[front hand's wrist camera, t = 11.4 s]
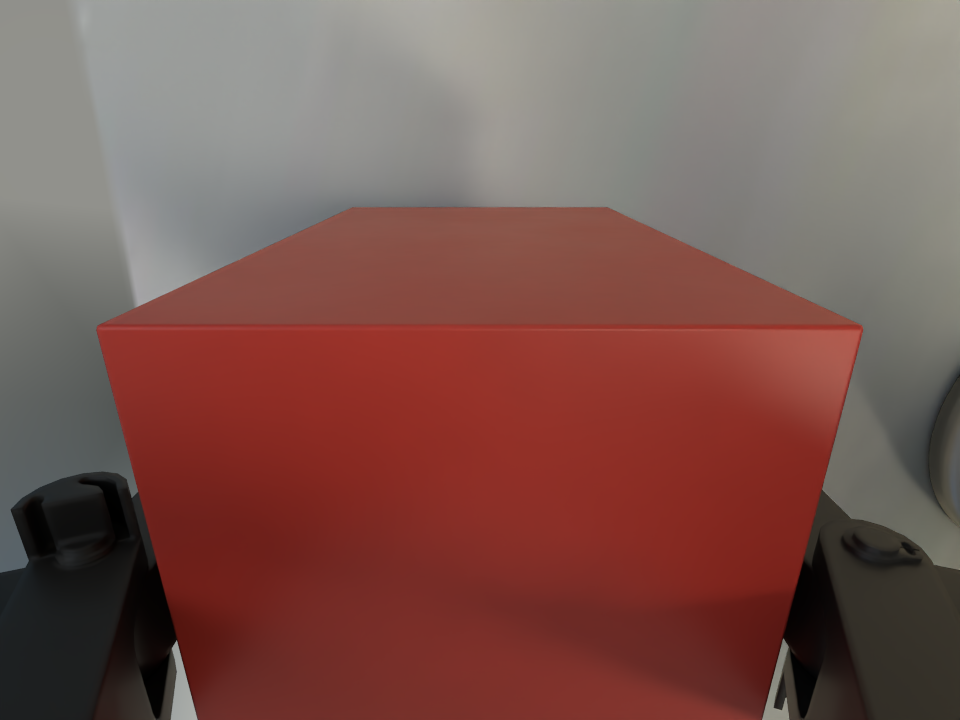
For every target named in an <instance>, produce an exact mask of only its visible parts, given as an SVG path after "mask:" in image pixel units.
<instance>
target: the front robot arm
mask: <svg viewBox="0 0 960 720" xmlns="http://www.w3.org/2000/svg"><path fill="white" fill-rule="evenodd" d="M929 471H930V479H931V483H932V487H933V490H934V493H935V495H936V498H937V500H938V502H939V504H940V505H941V507H942V509H943V510H944V511H945V513H946V514H947V515H948V517H949V518H950V519H951V520H952V521H953V522H954V523H955V524H956V525H957V526H959V527H960V376H959V378H958V379H957V380H956V382H955V383H954V385H953V387H952V388H951V390H950V392H949V394H948V395H947V397H946V399H945V401H944V403H943V405H942V408H941V410H940V412H939V415H938V417H937V420H936V423H935V426H934V430H933V434H932V438H931V444H930V451H929ZM11 512H12V515H13V518H14V521H15V523H16V526H17V529H18V532H19V534H20V537H21V540H22V543H23V545H24V548H25V551H26V554H27V556H28V559H29V562H28V564H27V566H26V568H22V569H17V570H12V571H7V572H2V573H0V720H171V712H172V704H173V696H174V689H175V680H176V673H177V671H176V665H175V659H174V655H173V651H172V647H173V645H174V644H175V642H176V640H177V638H176V634H175V630H174V627H173V623H172V619H171V615H170V611H169V607H168V603H167V600H166V596H165V592H164V588H163V584H162V580H161V577H160V573H159V569H158V565H157V561H156V557H155V554H154V550H153V546H152V542H151V538H150V534H149V530H148V527H147V523H146V519H145V515H144V511H143V507H142V504H141V500H140V496H139V492H138V493H137V494H136V495H135V496H134V497H133V498H131V494H130V490H129V487H128V483H127V479H125V478H124V477H122V476H121V475H119V474H117V473H109V472H93V473H83V474H79V475H75V476H71V477H67V478H63V479H60V480H57V481H55V482H52V483H50V484H47V485H45V486H42V487H40V488H38V489H36V490H35V491H33V492H32V493H30V494H28V495H26V496H25V497H23V498H22V499H21V500H20V501H19V502H18V503H17V504H16V505H15V506H14V507H13V508H12V509H11ZM783 638H784V640H785V641H786V643H787V645H788V646H789V648H788V651H787V655H786V659H785V663H784V666H783V670H782V674H781V678H780V681H779V685H778V689H777V693H776V697H775V703H774V708H776V709H779V710H782V708H783V704H784V701H785V698H786V697H787V703H788V710H789V718H790V720H960V570H956V569H951V568H946V567H941V566H936V565H933V563H932V561H931V559H930V558H929V557H928V556H927V554H926V553H925V552H924V551H923V550H922V548H921V547H919V546H918V545H916V544H915V543H914V542H912V541H911V540H909V539H908V538H907V537H905V536H904V535H901V534H899V533H897V532H895V531H893V530H891V529H889V528H886V527H884V526H881V525H878V524H874V523H871V522H867V521H864V520H856V519H851V518H850V517H849V516H848V515H847V514H846V513H845V512H844V511H843V510H842V509H841V508H840V507H839V506H838V505H837V504H836V503H835V502H834V501H833V500H832V499H831V498H830V497H829V496H828V495H827V494H826V493H825V492H824V491H823V490H822V491H821V494H820V498H819V502H818V506H817V510H816V514H815V517H814V521H813V525H812V529H811V533H810V537H809V541H808V544H807V548H806V552H805V556H804V560H803V564H802V567H801V571H800V575H799V579H798V583H797V587H796V591H795V594H794V598H793V602H792V606H791V610H790V614H789V617H788V621H787V625H786V629H785V633H784V637H783Z"/></svg>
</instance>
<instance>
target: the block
mask: <svg viewBox="0 0 960 720" xmlns="http://www.w3.org/2000/svg"><path fill="white" fill-rule="evenodd" d="M862 333H863V327H862V325H860V324H858V323H855V322H853V321H851V320H849V319H847V318H845V317H842V316H840V315H838V314H836V313H834V312H832V311H830V310H827V309H825V308H823V307H821V306H819V305H817V304H814V303H812V302H810V301H808V300H806V299H804V298H802V297H799V296H797V295H795V294H793V293H791V292H789V291H787V290H784V289H782V288H780V287H778V286H776V285H774V284H771V283H769V282H767V281H765V280H763V279H761V278H759V277H756V276H754V275H752V274H750V273H748V272H746V271H743V270H741V269H739V268H737V267H735V266H733V265H731V264H728V263H726V262H724V261H722V260H720V259H718V258H715V257H713V256H711V255H709V254H707V253H705V252H703V251H700V250H698V249H696V248H694V247H692V246H690V245H687V244H685V243H683V242H681V241H679V240H677V239H675V238H672V237H670V236H668V235H666V234H664V233H662V232H659V231H657V230H655V229H653V228H651V227H649V226H647V225H644V224H642V223H640V222H638V221H636V220H634V219H631V218H629V217H627V216H625V215H623V214H621V213H619V212H616V211H614V210H612V209H610V208H608V207H352V208H350V209H348V210H346V211H343V212H341V213H339V214H337V215H335V216H333V217H330V218H328V219H326V220H324V221H322V222H320V223H318V224H315V225H313V226H311V227H309V228H307V229H305V230H302V231H300V232H298V233H296V234H294V235H292V236H290V237H287V238H285V239H283V240H281V241H279V242H277V243H274V244H272V245H270V246H268V247H266V248H264V249H262V250H259V251H257V252H255V253H253V254H251V255H249V256H246V257H244V258H242V259H240V260H238V261H236V262H233V263H231V264H229V265H227V266H225V267H223V268H221V269H218V270H216V271H214V272H212V273H210V274H208V275H205V276H203V277H201V278H199V279H197V280H195V281H193V282H190V283H188V284H186V285H184V286H182V287H180V288H177V289H175V290H173V291H171V292H169V293H167V294H165V295H162V296H160V297H158V298H156V299H154V300H152V301H149V302H147V303H145V304H143V305H141V306H139V307H136V308H134V309H132V310H130V311H128V312H126V313H124V314H121V315H119V316H117V317H115V318H113V319H111V320H108V321H106V322H104V323H102V324H100V325H98V326H97V334H98V338H99V342H100V346H101V350H102V354H103V358H104V361H105V365H106V369H107V373H108V377H109V381H110V384H111V388H112V392H113V396H114V400H115V404H116V407H117V411H118V415H119V419H120V423H121V426H122V431H123V434H124V438H125V442H126V446H127V450H128V454H129V457H130V461H131V465H132V469H133V473H134V477H135V480H136V484H137V488H138V492H139V496H140V500H141V504H142V507H143V511H144V515H145V519H146V523H147V527H148V530H149V534H150V538H151V542H152V546H153V550H154V554H155V557H156V561H157V565H158V569H159V573H160V577H161V580H162V584H163V588H164V592H165V596H166V600H167V603H168V607H169V611H170V615H171V619H172V623H173V627H174V630H175V634H176V638H177V642H178V646H179V650H180V653H181V657H182V661H183V665H184V669H185V673H186V676H187V680H188V684H189V688H190V692H191V696H192V700H193V703H194V707H195V711H196V715H197V719H198V720H762V717H763V714H764V710H765V706H766V702H767V698H768V694H769V691H770V687H771V683H772V679H773V675H774V671H775V667H776V664H777V660H778V656H779V652H780V648H781V644H782V641H783V637H784V633H785V629H786V625H787V621H788V617H789V614H790V610H791V606H792V602H793V598H794V594H795V591H796V587H797V583H798V579H799V575H800V571H801V567H802V564H803V560H804V556H805V552H806V548H807V544H808V541H809V537H810V533H811V529H812V525H813V521H814V517H815V514H816V510H817V506H818V502H819V498H820V494H821V491H822V487H823V483H824V479H825V475H826V471H827V467H828V464H829V460H830V456H831V452H832V448H833V444H834V441H835V437H836V433H837V429H838V425H839V421H840V417H841V414H842V410H843V406H844V402H845V398H846V394H847V390H848V387H849V383H850V379H851V375H852V371H853V367H854V364H855V360H856V356H857V352H858V348H859V344H860V340H861V337H862Z"/></svg>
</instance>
